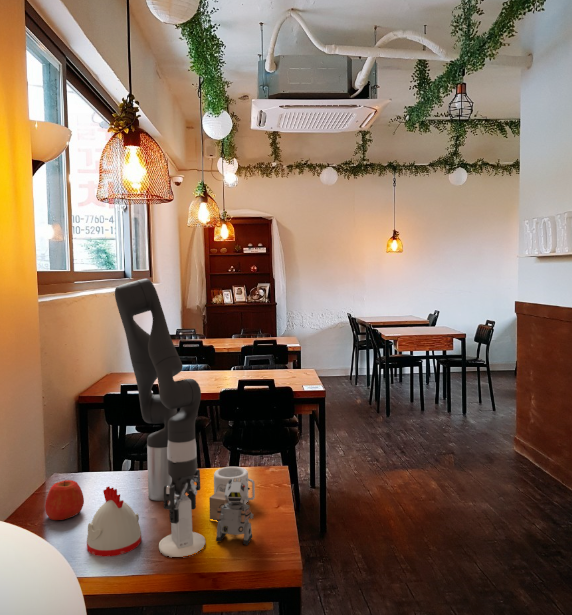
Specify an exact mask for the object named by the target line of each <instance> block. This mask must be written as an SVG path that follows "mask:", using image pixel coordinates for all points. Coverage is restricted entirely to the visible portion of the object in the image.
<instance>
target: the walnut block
mask: <svg viewBox="0 0 572 615" xmlns="http://www.w3.org/2000/svg"><path fill="white" fill-rule="evenodd" d="M224 494H225V492H220V491H217V492H216V493H215V494H214V493H213V494H212V495H211V496H209V520H210V519H213V520H217V510H218V508H219V506H220V505H221V504H227V503H228V500H226V498H225V495H224ZM221 506H223V505H221ZM221 506H220V508H221Z"/></svg>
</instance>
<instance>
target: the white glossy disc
mask: <svg viewBox="0 0 572 615" xmlns="http://www.w3.org/2000/svg"><path fill="white" fill-rule="evenodd" d="M192 532H193V545H191V546H188V547H184V548H178V547H177V546H176V544H175V543H174V541H173V540H172V533H170V534H168V535H166V536H164V537H163V538H162V539H161V540H160V541H159V544H158V551H159V554H161V553H162V555H163V556H165V557H167V556H169V557H168V558H172V557H183V556H188V555H192V554H194V553H197V552H198V551H200V550H201V549H202V548H203V547H204V545H205V546H206V538H205V536H203V535H202V534H200V533H198V532H195V531H192ZM204 548H205V547H204ZM204 548H203V549H204ZM200 552H201V551H200ZM197 554H198V553H197ZM192 556H193V555H192ZM183 558H184V557H183Z"/></svg>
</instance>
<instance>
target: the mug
mask: <svg viewBox="0 0 572 615" xmlns="http://www.w3.org/2000/svg"><path fill="white" fill-rule="evenodd" d="M233 478H242V479H243V480H244V481H245V482H246V483H247V484H248V485H249V482H250V483H251V484H252V485H251V487H252V488H251V489H252V490H251V491H252V492H251V493H252V494H251V495H252V497H249V490H248V491H247V497H246V499H245V501H244V504H246V503H247V502H248V503H249V501H253V500H254V499H255V497H256V496H255V495H256V492H255V491H256V490H255V488H256V487H255V486H256V485H255V481H254V480H253V479H252V478H249V471H248V470H247V469H246V468H245V467H241V466H225V467H222V468H221V467H220V468H219V469H216V470H215V471H214V473H213V484H214V485H213V494H215V493H216V492H217V491H220V492H225V490H226V485H227V484H228V482H229V480H230V479H233ZM241 502H242V503H243V500H242V501H241ZM248 503H247V504H248ZM247 504H246V505H247Z"/></svg>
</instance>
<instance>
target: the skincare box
mask: <svg viewBox="0 0 572 615" xmlns="http://www.w3.org/2000/svg"><path fill="white" fill-rule="evenodd" d="M175 496H179V495H175ZM175 503H176V500H174V504H175ZM178 509H179V522H178V523H177V524H175V523H171V522H170V527H171V528H170V529H171V534H172V540H173V541H174V543H175V544H176V546H177V547H178V548H184V547H188V546H191V545H193V532H194V531H193V511H192V509H191V500H190V499H189V498H188V497H187V494H185V495H184V496H183V499H182V501H180V503H179V507H178Z"/></svg>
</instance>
